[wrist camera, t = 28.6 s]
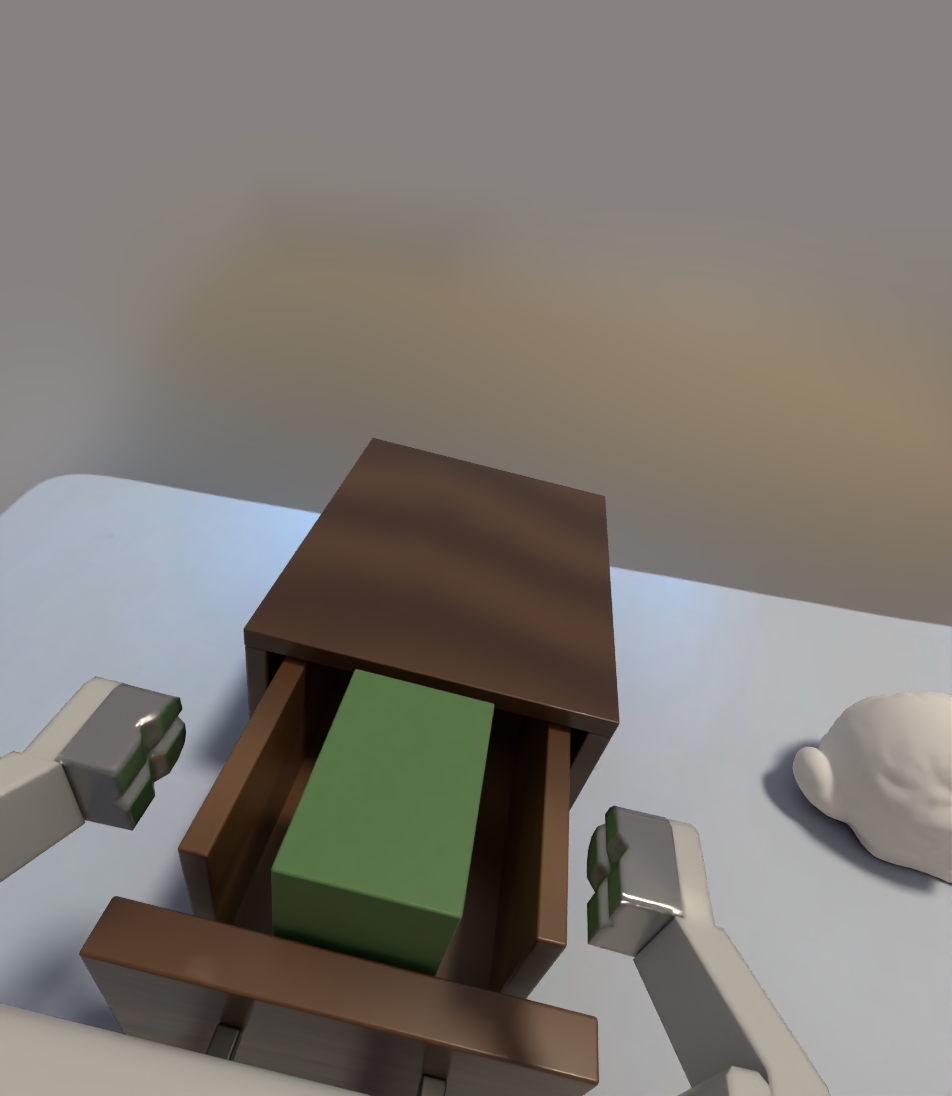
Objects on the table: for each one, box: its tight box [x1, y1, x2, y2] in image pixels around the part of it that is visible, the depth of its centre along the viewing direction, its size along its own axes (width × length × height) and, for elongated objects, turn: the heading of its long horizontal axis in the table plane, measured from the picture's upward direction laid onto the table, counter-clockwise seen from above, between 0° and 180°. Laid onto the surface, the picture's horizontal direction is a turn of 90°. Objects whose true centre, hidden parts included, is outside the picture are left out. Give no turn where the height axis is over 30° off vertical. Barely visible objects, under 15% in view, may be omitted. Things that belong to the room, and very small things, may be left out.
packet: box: [271, 669, 494, 976], centre depth 17 cm, size 4×6×9 cm
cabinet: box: [244, 438, 619, 811], centre depth 27 cm, size 15×13×9 cm
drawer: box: [79, 656, 599, 1096], centre depth 18 cm, size 18×11×7 cm, turn 171°
